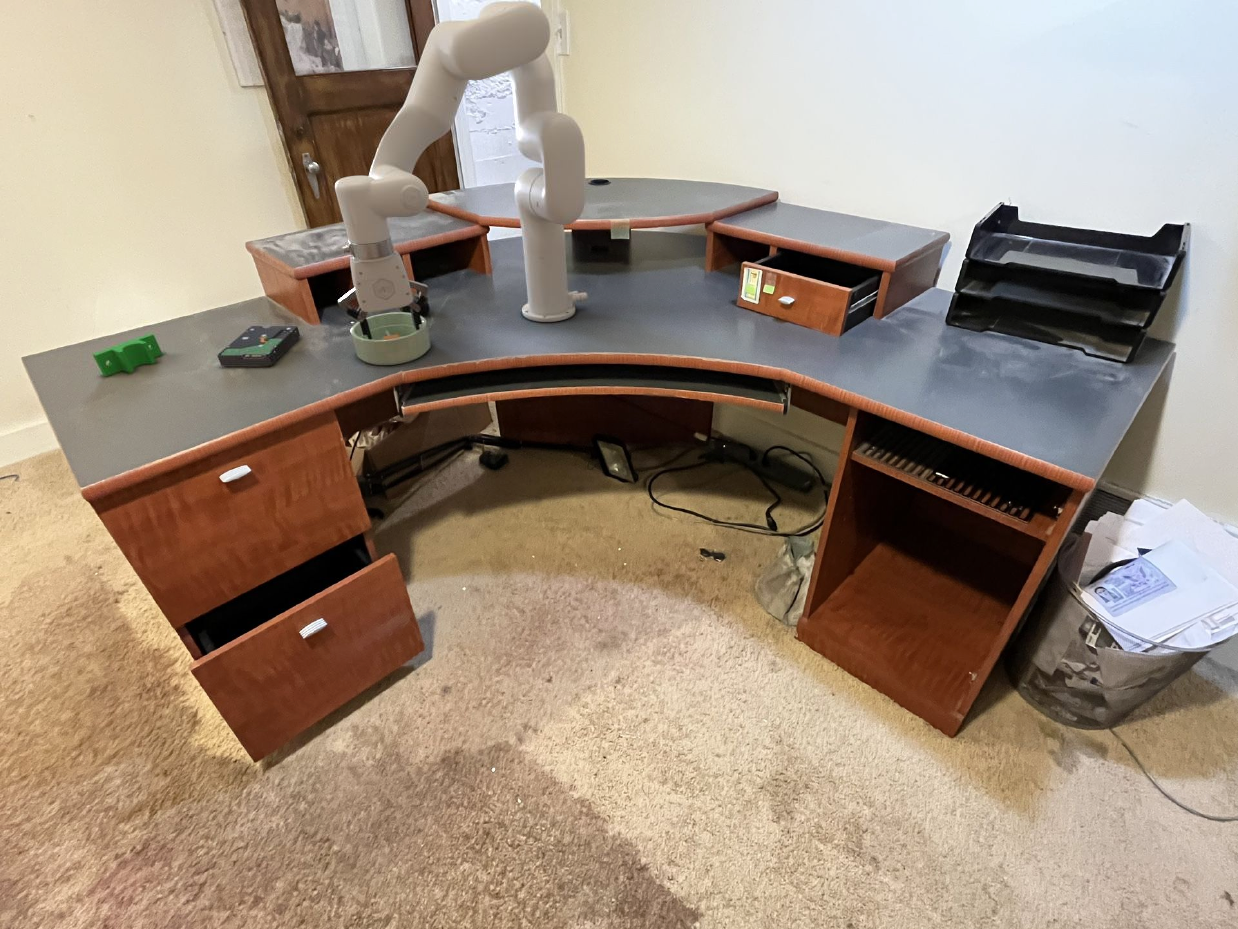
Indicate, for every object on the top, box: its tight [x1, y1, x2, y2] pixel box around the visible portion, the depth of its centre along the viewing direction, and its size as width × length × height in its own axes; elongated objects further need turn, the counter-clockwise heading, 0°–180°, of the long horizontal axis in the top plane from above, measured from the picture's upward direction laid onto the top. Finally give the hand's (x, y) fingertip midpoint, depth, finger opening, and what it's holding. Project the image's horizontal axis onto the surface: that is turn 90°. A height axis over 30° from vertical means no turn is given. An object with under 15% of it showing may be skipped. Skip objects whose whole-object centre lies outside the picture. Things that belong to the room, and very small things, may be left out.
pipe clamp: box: [92, 333, 163, 377], centre depth 124 cm, size 11×4×5 cm, turn 153°
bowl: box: [349, 311, 432, 366], centre depth 130 cm, size 15×15×6 cm
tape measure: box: [398, 293, 430, 316], centre depth 147 cm, size 7×7×4 cm
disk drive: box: [217, 325, 301, 367], centre depth 130 cm, size 10×3×15 cm
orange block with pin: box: [383, 330, 400, 340], centre depth 130 cm, size 12×3×3 cm, turn 27°
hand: (393, 332), depth 127 cm, fingers open, 9 cm apart
